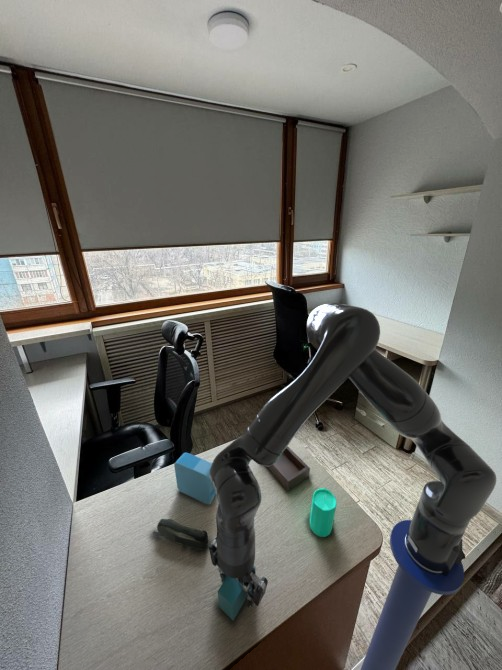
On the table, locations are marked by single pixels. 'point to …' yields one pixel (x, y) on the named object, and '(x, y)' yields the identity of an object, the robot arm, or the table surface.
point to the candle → (322, 512)
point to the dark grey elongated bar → (182, 534)
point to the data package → (194, 477)
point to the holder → (290, 469)
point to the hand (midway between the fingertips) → (237, 589)
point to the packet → (231, 597)
